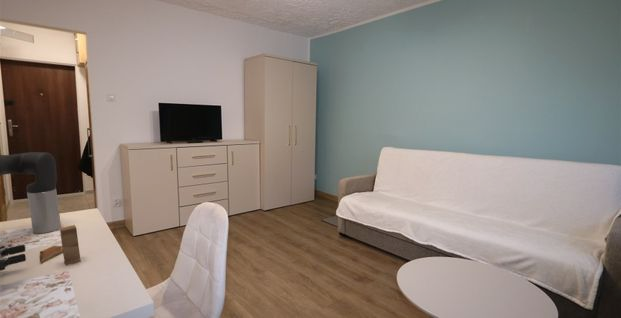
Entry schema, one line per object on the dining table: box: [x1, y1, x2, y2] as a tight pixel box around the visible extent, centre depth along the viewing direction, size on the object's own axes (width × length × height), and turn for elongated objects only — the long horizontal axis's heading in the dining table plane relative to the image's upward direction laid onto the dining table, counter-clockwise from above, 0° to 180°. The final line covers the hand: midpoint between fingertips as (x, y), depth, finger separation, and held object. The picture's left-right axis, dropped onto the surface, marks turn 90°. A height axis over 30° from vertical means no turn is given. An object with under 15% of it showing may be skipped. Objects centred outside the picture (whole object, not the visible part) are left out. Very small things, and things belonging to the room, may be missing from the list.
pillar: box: [59, 224, 82, 266], centre depth 104 cm, size 4×4×12 cm
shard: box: [39, 245, 63, 264], centre depth 109 cm, size 11×8×2 cm
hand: (25, 252), depth 96 cm, fingers open, 8 cm apart
